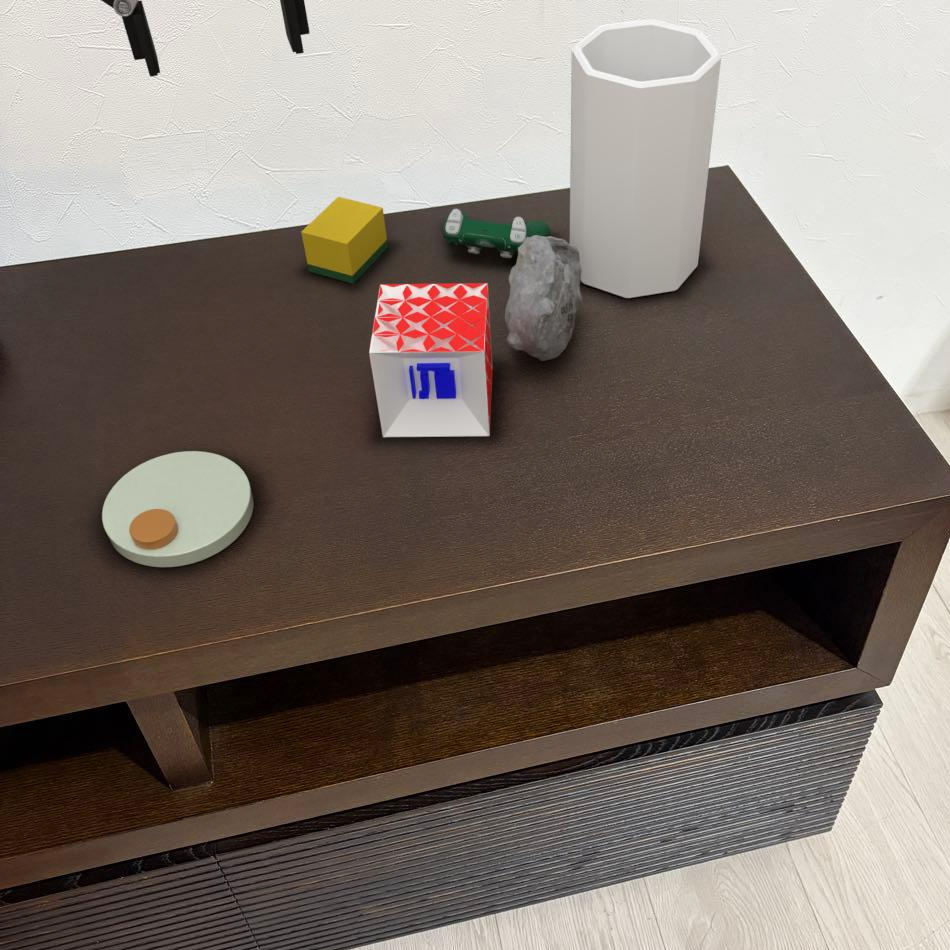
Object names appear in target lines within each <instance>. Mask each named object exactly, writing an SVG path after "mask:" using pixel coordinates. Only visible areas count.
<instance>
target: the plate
mask: <svg viewBox="0 0 950 950" xmlns="http://www.w3.org/2000/svg"><path fill="white" fill-rule="evenodd" d="M252 490H253V489H252V486H251V483H250V481H249V478H248V476H247V474H246V473H245V471H244V470H243V469H242V468H241V467H240V466H239V465H238V464H236V463H235V462H234V461H232V459H229V458H227V457H226V456H223V455H220V454H218V453H215V452H214V453H213V452H208V451H200V450H199V451H198V450H185V451H175V452H171V453H166V454H163V455H160V456H156V457H154V458H151V459H148V460H147V461H145V462H144V461H143V463H141V464H138V465H137V466H135V467H134V468H132V469H131V470H129V471H128V472H126V473H125V474H124V475H122V477H121V478H119V479H118V480H117V482H116V483H115V484H113V486H112V488H111V489H110V491H109V492H108V494H107V495H106V498H105V500H104V503H103V506H102V512H101V521H102V525H103V529H104V532H105V533H106V535H107V537H108V540H109V542H110V543H111V545H112V546H113V548H114V549H115V550H116V551H117V552H118V553H119V554H120V555H121V556H122V557H124V558H125V559H128V560H129V561H131V562H133V563H136V564H138V565H143V566H146V567H153V568H175V567H183V566H187V565H192V564H195V563H198V562H202V561H204V560H207V559H208V558H211V557H213V556H215V555H216V554H219V553H220V552H222V551H223V550H224V549H226V548H228V547H229V546H230V545H232V543H234V542H235V541H236V540H237V539H238V538H239V537H240V536H241V535H242V533H243V532H244V531H245V529H246V528H247V526H248V524H249V522H250V521H251V518H252V515H253V511H254V506H255V505H254V504H255V503H254V502H255V500H254V494H253V491H252ZM152 509H163V510H166V511H169V512H170V513H171V514H173V516H174V517H175V520H176V522H177V525H178V532H177V534H176V536H175V538H174V539H173V540H172V541H171V542H170V543H168V544H167V545H165V546H163V547H160V548H157V549H144V548H141V547H139V546H137V545H136V544H135V543H134V542H133V540H132V537H131V535H130V532H129V528H130V524H131V522H132V521H133V520H134V518H135V517H137V516H138V515H139V514H141V513H143V512H145V511H148V510H152Z"/></svg>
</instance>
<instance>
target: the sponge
mask: <svg viewBox="0 0 950 950" xmlns="http://www.w3.org/2000/svg"><path fill="white" fill-rule="evenodd" d="M384 213H385V212H384V207H382V206H379V205H378V206H377V205H375V204H370V203H365V202H362V201H357V200H354V199H348V198H345V197H342V196H337V197H336V198H335V199H334V200H333V201H332V202H331V203H330V204H328V206H327V207H326V208H324V209H323V210H322V212H320V213H319V214H318V215H317V216H315V218H314V219H313V220H312V221H311V222H309V224H308V225H306V226H305V227H304V229H303V230H301V231H300V233H301V237H302V243H303V248H304V249H303V250H304V253H305V258H306V263H307V268H308V272H309V273H312V274H316V275H319V276H323V277H327V278H330V279H334V280H338V281H341V282H346V283H349V284H353V285H354V284H355V283H356V282H357V281H358V280H359V279H360V278H361V277H362V276H363V275H364V274H365V273H366V271H367V270H368V269H369V268H370V267H371V266H372V265H373V264H374V263H375V262H376V261H377V260H378V259H379V257H381V255H382V254H384V252H385V251H386V250H387V249H388V248H389V243H388V238H387V236H388V235H387V229H386V221H385V214H384Z"/></svg>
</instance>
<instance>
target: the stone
mask: <svg viewBox="0 0 950 950" xmlns="http://www.w3.org/2000/svg"><path fill="white" fill-rule="evenodd" d="M581 272H582V270H581V265H580V256H579V251H578V249H577V248H576V247H575V245H570V243H568V242H567V241H566V240H565V239H563V238H558V237H554V236H551V235H550V236H548V237H543V236H538V235H535V236H532V237H527V238H526V239H525V240H524V242H523V244H522V245H521V246H520V247H518V251H517V258H516V263H515V265H513V266H512V267H511V269H510V272H509V275H508V282H509V286H510V288H509V297H508V300H507V303H506V307H505V312H504V322H505V325H506V329H507V331H508V335H507V337H506V342H507V345H508V346H509V347H510V348H511V349H513V350H516V351H523V352H525V353H527V354H528V355H529V356H531V357H533V358H536V359H538V360H539V361H541V362H545V361H546V362H547V361H550V360H553V359H556V358H557V357H559V356H560V355H561V354H562V353H563V352H564V350H566V348H567V347H568V344H569V343H570V340H571V338H572V336H573V331H574V328H575V324H576V323H575V319H576V312H577V311H578V310H579V308H580V306H581V304H582V302H583V296H582V294H581V288H580V285H581Z"/></svg>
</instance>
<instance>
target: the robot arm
mask: <svg viewBox="0 0 950 950" xmlns="http://www.w3.org/2000/svg"><path fill="white" fill-rule="evenodd" d="M100 1H101V2H103V3H104V4H106V5H108V6H109V7H110V8H112V9H113V11H114V12H115V14H117V15H118V16H120V17H121V19H122V22H123V26H124V29H125V33H126V36H127V40H128V43H129V47H130V50H131V53H132V56H133V60H134V61H138V60H144V61H145V64H146V68H147V71H148V75H149V77H157V76H159V74H161V70H160V69H161V68H160V63H159V58H158V54H157V50H156V47H155V43H154V40H153V37H152V33H151V29H150V24H149V22H148V18H147V14H146V11H145V7H144V4H143V0H100ZM279 3H280V8H281V14H282V19H283V24H284V29H285V34H286V38H287V40H288V43H289V46H290V48H291V51H292V53H295V54H296V55H298V54H299V55H300V54H304V52H305V51H304V46H303V45H304V44H303V41H302V40H303V39H302V36H303V35H304V36H305V35H310V32H311V31H310V27H309V21H308V14H307V9H306V3H305V0H279Z"/></svg>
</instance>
